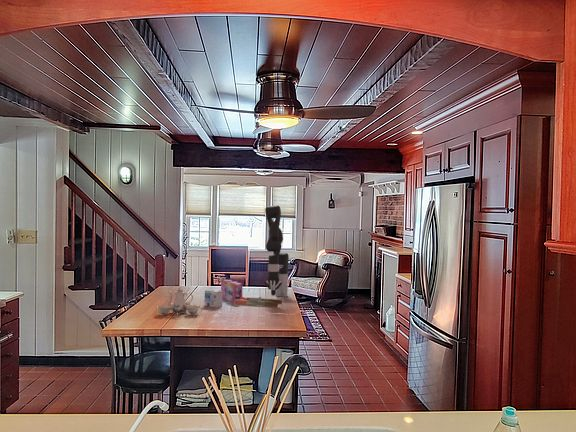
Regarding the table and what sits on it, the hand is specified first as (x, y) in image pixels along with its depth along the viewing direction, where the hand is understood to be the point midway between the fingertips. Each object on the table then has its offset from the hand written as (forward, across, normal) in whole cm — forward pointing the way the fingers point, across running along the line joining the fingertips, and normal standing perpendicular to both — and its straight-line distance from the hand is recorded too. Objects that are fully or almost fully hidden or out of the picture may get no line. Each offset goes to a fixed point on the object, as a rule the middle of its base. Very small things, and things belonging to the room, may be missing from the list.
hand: (273, 295), depth 314 cm
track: (+8, +10, 0) cm, 13 cm away
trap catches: (+7, +22, 0) cm, 23 cm away
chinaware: (+7, +50, +40) cm, 65 cm away
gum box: (+8, +36, -15) cm, 40 cm away
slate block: (+6, +13, +1) cm, 14 cm away
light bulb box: (+8, +39, +11) cm, 42 cm away
